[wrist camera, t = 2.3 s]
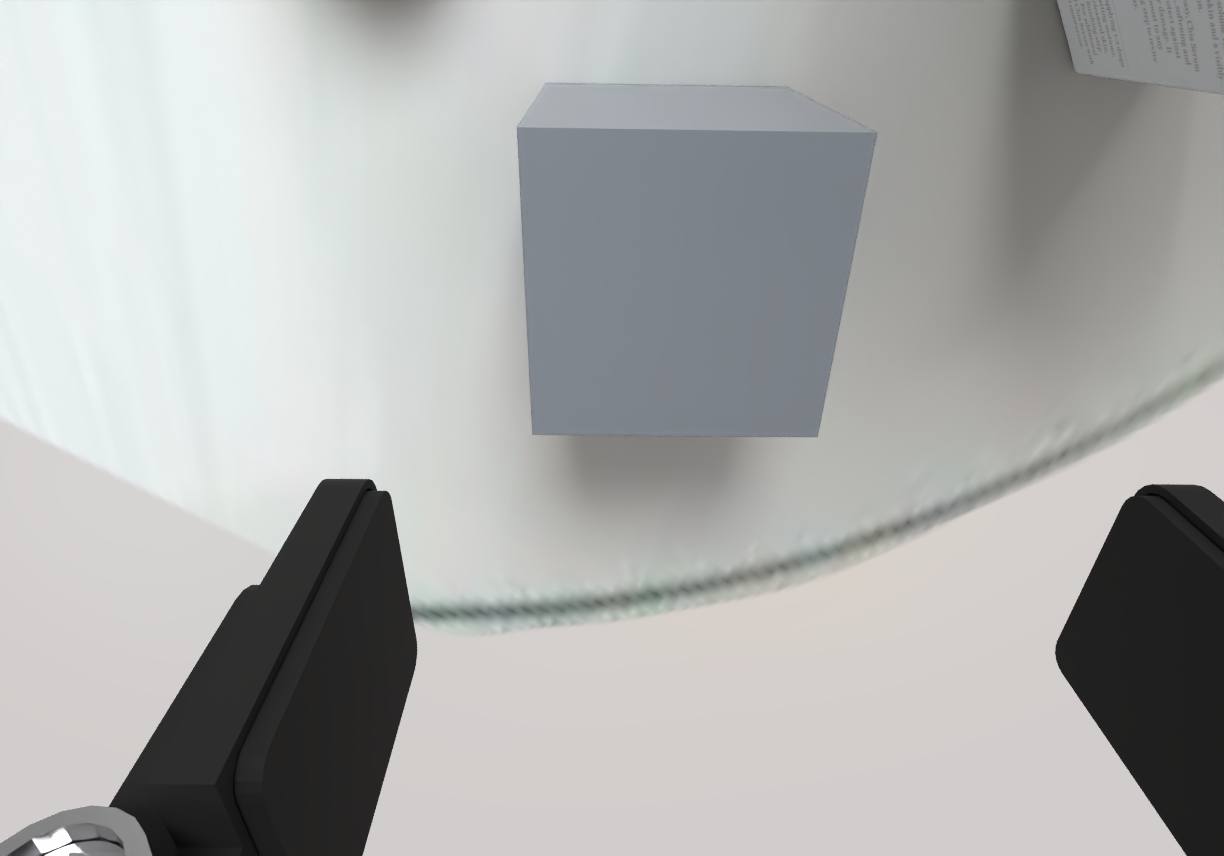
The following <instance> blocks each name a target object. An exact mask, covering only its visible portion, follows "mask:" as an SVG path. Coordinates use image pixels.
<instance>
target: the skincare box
mask: <svg viewBox="0 0 1224 856" xmlns="http://www.w3.org/2000/svg"><path fill="white" fill-rule="evenodd" d="M1057 3H1058V6H1059V10H1060V14H1061V18H1062V22H1063V26H1064V30H1065V34H1066V37H1067V41H1068V44H1069V48H1070V53H1071V57H1072V61H1073V65H1074V69H1075V71H1076V73H1078V74H1085V75H1091V76H1098V77H1104V78H1112V79H1119V80H1127V81H1132V82H1140V83H1148V84H1154V85H1161V86H1168V87H1174V88H1182V89H1188V90H1195V91H1202V92H1209V93H1215V94H1223V95H1224V0H1057Z"/></svg>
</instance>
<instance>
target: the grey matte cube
mask: <svg viewBox="0 0 1224 856" xmlns="http://www.w3.org/2000/svg"><path fill="white" fill-rule="evenodd" d="M876 136H877V132H875V131H873V130H871V129H869V128H867V127H865V126H863V125H861V124H859V123H857V122H855V121H853V120H851V119H849V118H847V117H845V116H843V115H841V114H839V113H837V112H835V111H834V110H832V109H830V108H828V107H826V106H824V105H822V104H820V103H818V102H816V101H814V100H812V99H810V98H808V97H806V96H804V95H802V94H800V93H798V92H796V91H794V90H792V89H790V88H788V87H761V86H699V85H637V84H575V83H546V84H545V85H544V87H543V89H542V90H541V92H540V93H539V95H538V96H537V98H536V99H535V101H534V102H533V104H532V105H531V107H530V108H529V110H528V111H527V113H526V114H525V116H524V117H523V119H522V120H521V122H520V123H519V125H518V126H517V138H518V158H519V178H520V197H521V217H522V237H523V257H524V277H525V297H526V317H527V336H528V356H529V376H530V396H531V416H532V435H623V436H740V437H818V432H819V427H820V422H821V417H822V412H823V407H824V401H825V396H826V391H827V386H828V381H829V376H830V371H831V366H832V361H833V355H834V350H835V345H836V340H837V335H838V330H839V325H840V320H841V315H842V309H843V304H844V299H845V294H846V289H847V284H848V279H849V274H850V269H851V263H852V258H853V253H854V248H855V243H856V238H857V233H858V228H859V223H860V217H861V212H862V207H863V202H864V197H865V192H866V187H867V182H868V177H869V171H870V166H871V161H872V156H873V151H874V146H875V141H876Z"/></svg>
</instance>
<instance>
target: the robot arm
mask: <svg viewBox="0 0 1224 856" xmlns="http://www.w3.org/2000/svg"><path fill="white" fill-rule="evenodd" d="M1055 654H1056V660H1057V663H1058V666H1059V668H1060V670H1061V672H1062V674H1063V675H1064V677H1065V678H1066V680H1067V681H1068V682H1069V684H1070V685H1071V687H1072V688H1073V690H1074V691H1075V693H1076V694H1077V696H1078V697H1079V699H1080V700H1081V701H1082V703H1083V704H1084V706H1085V707H1086V709H1087V710H1088V712H1089V713H1090V715H1091V716H1092V718H1093V719H1094V720H1095V722H1096V723H1097V725H1098V726H1099V728H1100V729H1101V731H1102V732H1103V734H1104V735H1105V736H1106V738H1107V739H1108V741H1109V742H1110V744H1111V745H1112V747H1113V748H1114V750H1115V751H1116V753H1117V754H1118V755H1119V757H1120V759H1121V760H1122V761H1123V763H1124V764H1125V766H1126V767H1127V769H1128V770H1129V772H1130V773H1131V775H1132V776H1133V778H1134V779H1135V780H1136V782H1137V783H1138V785H1139V786H1140V788H1141V789H1142V791H1143V792H1144V794H1145V795H1146V797H1147V798H1148V799H1149V801H1150V802H1151V804H1152V805H1153V806H1154V808H1155V810H1156V811H1157V813H1158V814H1159V816H1160V817H1161V819H1162V820H1163V821H1164V823H1165V824H1166V826H1167V827H1168V829H1169V830H1170V832H1171V833H1172V835H1173V836H1174V838H1175V839H1176V841H1177V842H1178V843H1179V845H1180V846H1181V847H1182V849H1183V851H1184V852H1185V854H1186V855H1187V856H1224V502H1223V501H1222V500H1221V499H1220V498H1218V497H1217V496H1216V495H1215V494H1213V493H1212V492H1211V491H1209V490H1208V489H1206V488H1204V487H1202V486H1197V485H1154V484H1152V485H1147V486H1144V487H1143V488H1141V489H1140V490H1138V491H1137V493H1136V494H1135V496H1133V497H1130V498H1129V499H1127V500H1126V501H1125V502H1124V504H1123V505H1122V507H1121V510H1120V512H1119V514H1118V516H1117V518H1116V520H1115V522H1114V524H1113V526H1112V528H1111V530H1110V532H1109V535H1108V536H1107V539H1106V541H1105V543H1104V545H1103V547H1102V549H1101V551H1100V553H1099V555H1098V558H1097V560H1096V561H1095V564H1094V566H1093V568H1092V570H1091V572H1090V574H1089V576H1088V578H1087V580H1086V582H1085V584H1084V587H1083V589H1082V591H1081V593H1080V595H1079V597H1078V599H1077V601H1076V603H1075V605H1074V607H1073V610H1072V611H1071V614H1070V616H1069V618H1068V620H1067V622H1066V624H1065V626H1064V628H1063V630H1062V632H1061V634H1060V636H1059V639H1058V641H1057V644H1056V651H1055ZM416 658H417V641H416V634H415V629H414V623H413V617H412V612H411V606H410V601H409V595H408V589H407V584H406V578H405V572H404V567H403V561H402V556H401V550H400V544H399V539H398V533H397V527H396V522H395V516H394V511H393V505H392V500H391V496H390V494H389V492H387V491H377V489H376V486H375V484H374V482H373V481H372V480H370V479H325V480H322V482H321V483H320V484H319V485H318V487H317V489H316V490H315V492H314V494H313V495H312V497H311V499H310V500H309V502H308V504H307V506H306V507H305V509H304V511H303V512H302V514H301V516H300V518H299V519H298V521H297V523H296V524H295V526H294V528H293V529H292V531H291V533H290V535H289V536H288V538H287V540H286V541H285V543H284V545H283V546H282V548H281V550H280V552H279V553H278V555H277V557H276V558H275V560H274V562H273V563H272V565H271V567H270V569H269V570H268V572H267V574H266V576H265V577H264V579H263V581H262V582H261V584H260V585H251V586H249V587H248V588H246V589H245V590H243V591H242V592H241V594H240V595H239V596H238V598H237V599H236V600H235V602H234V603H233V605H232V607H231V608H230V610H229V611H228V613H227V615H226V616H225V618H224V620H223V621H222V623H221V625H220V626H219V628H218V629H217V631H216V633H215V634H214V636H213V637H212V639H211V641H210V642H209V644H208V646H207V647H206V649H205V650H204V653H203V654H202V656H201V657H200V659H199V660H198V662H197V664H196V665H195V667H194V668H193V670H192V672H191V673H190V675H189V677H188V678H187V680H186V681H185V683H184V685H183V686H182V688H181V690H180V691H179V693H178V695H177V696H176V698H175V699H174V701H173V703H172V704H171V706H170V708H169V709H168V711H167V713H166V714H165V716H164V717H163V719H162V721H161V723H160V724H159V725H158V727H157V729H156V730H155V732H154V734H153V735H152V737H151V739H150V740H149V742H148V743H147V745H146V747H145V748H144V750H143V752H142V753H141V755H140V757H139V758H138V760H137V761H136V763H135V765H134V766H133V768H132V770H131V771H130V773H129V775H128V776H127V778H126V779H125V781H124V783H123V784H122V786H121V788H120V789H119V791H118V793H117V794H116V796H115V797H114V799H113V800H112V802H111V804H110V806H109V807H102V806H87V807H82V808H77V809H72V810H67V811H62V812H59V813H57V814H55V815H52V816H50V817H47V818H45V819H43V820H40V821H38V822H36V823H34V824H31V825H29V826H27V827H26V828H24V829H22V830H21V831H20V832H18V833H16V834H15V835H13V836H12V837H10V838H8V839H7V840H5V841H4V842H2V843H0V856H362V855H363V852H364V848H365V844H366V841H367V837H368V834H369V830H370V827H371V823H372V820H373V816H374V813H375V809H376V805H377V802H378V798H379V795H380V791H381V788H382V784H383V781H384V777H385V773H386V770H387V766H388V763H389V759H390V756H391V752H392V749H393V745H394V742H395V738H396V734H397V731H398V727H399V724H400V720H401V717H402V713H403V710H404V706H405V702H406V698H407V695H408V692H409V688H410V685H411V681H412V677H413V674H414V670H415V666H416Z"/></svg>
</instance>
